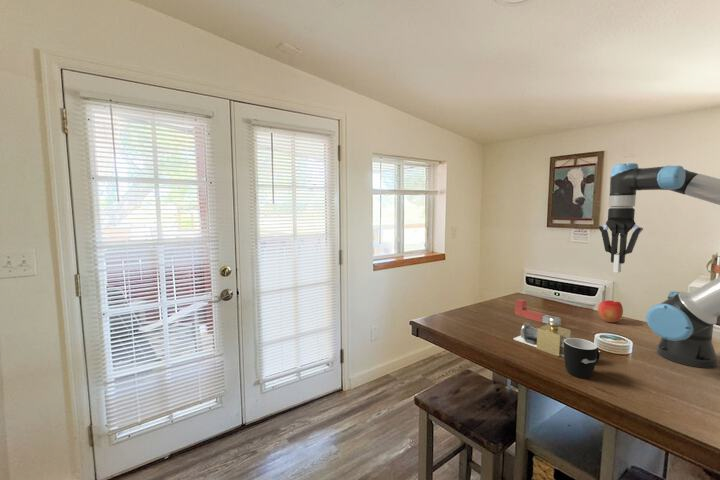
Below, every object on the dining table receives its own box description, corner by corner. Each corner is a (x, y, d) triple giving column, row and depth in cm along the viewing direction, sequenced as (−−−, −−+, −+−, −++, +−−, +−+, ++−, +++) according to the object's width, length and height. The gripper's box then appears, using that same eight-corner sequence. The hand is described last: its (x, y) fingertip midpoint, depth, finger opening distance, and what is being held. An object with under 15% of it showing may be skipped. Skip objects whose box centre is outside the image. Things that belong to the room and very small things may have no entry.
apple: (625, 322, 152) (627, 301, 151) (617, 326, 147) (619, 304, 146) (601, 316, 160) (602, 296, 159) (592, 320, 155) (594, 299, 153)
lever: (562, 325, 123) (563, 309, 122) (556, 327, 120) (557, 311, 120) (519, 313, 137) (520, 298, 136) (514, 314, 135) (514, 300, 134)
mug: (579, 382, 101) (581, 350, 100) (555, 368, 110) (557, 339, 109) (610, 377, 104) (612, 346, 103) (585, 364, 113) (587, 335, 112)
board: (600, 352, 122) (600, 351, 122) (581, 363, 114) (582, 362, 113) (533, 331, 142) (533, 330, 142) (513, 339, 134) (513, 338, 134)
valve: (590, 357, 117) (592, 332, 116) (580, 364, 113) (582, 337, 112) (529, 337, 136) (530, 315, 135) (518, 342, 131) (519, 319, 130)
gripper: (648, 207, 116) (642, 273, 119) (604, 207, 127) (600, 268, 129) (640, 207, 112) (635, 276, 114) (596, 207, 123) (592, 270, 125)
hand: (616, 271), depth 122 cm, fingers closed
